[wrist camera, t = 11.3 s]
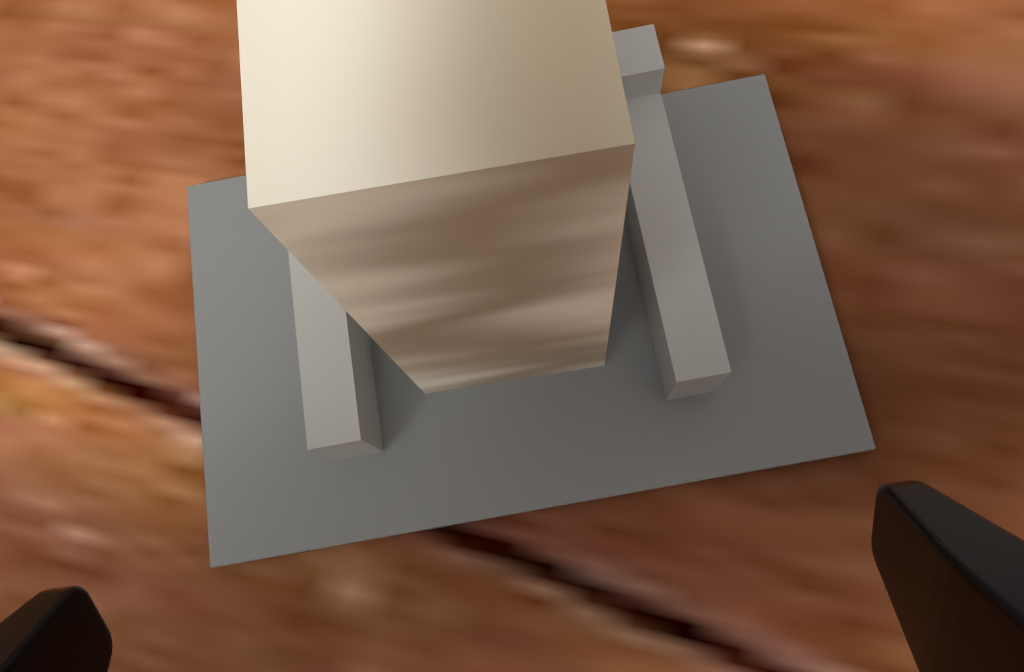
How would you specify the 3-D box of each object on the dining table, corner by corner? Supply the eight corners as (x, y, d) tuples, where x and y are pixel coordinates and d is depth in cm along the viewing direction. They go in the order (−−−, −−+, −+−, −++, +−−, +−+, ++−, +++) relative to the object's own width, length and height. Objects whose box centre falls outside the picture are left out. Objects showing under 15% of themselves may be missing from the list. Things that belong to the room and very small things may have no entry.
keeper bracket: (217, 567, 19) (141, 570, 16) (193, 193, 22) (124, 128, 19) (869, 450, 19) (933, 428, 16) (761, 82, 22) (794, -5, 18)
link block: (425, 393, 20) (247, 207, 9) (405, 221, 21) (231, -116, 10) (604, 365, 20) (634, 143, 9) (574, 193, 21) (569, -178, 10)
